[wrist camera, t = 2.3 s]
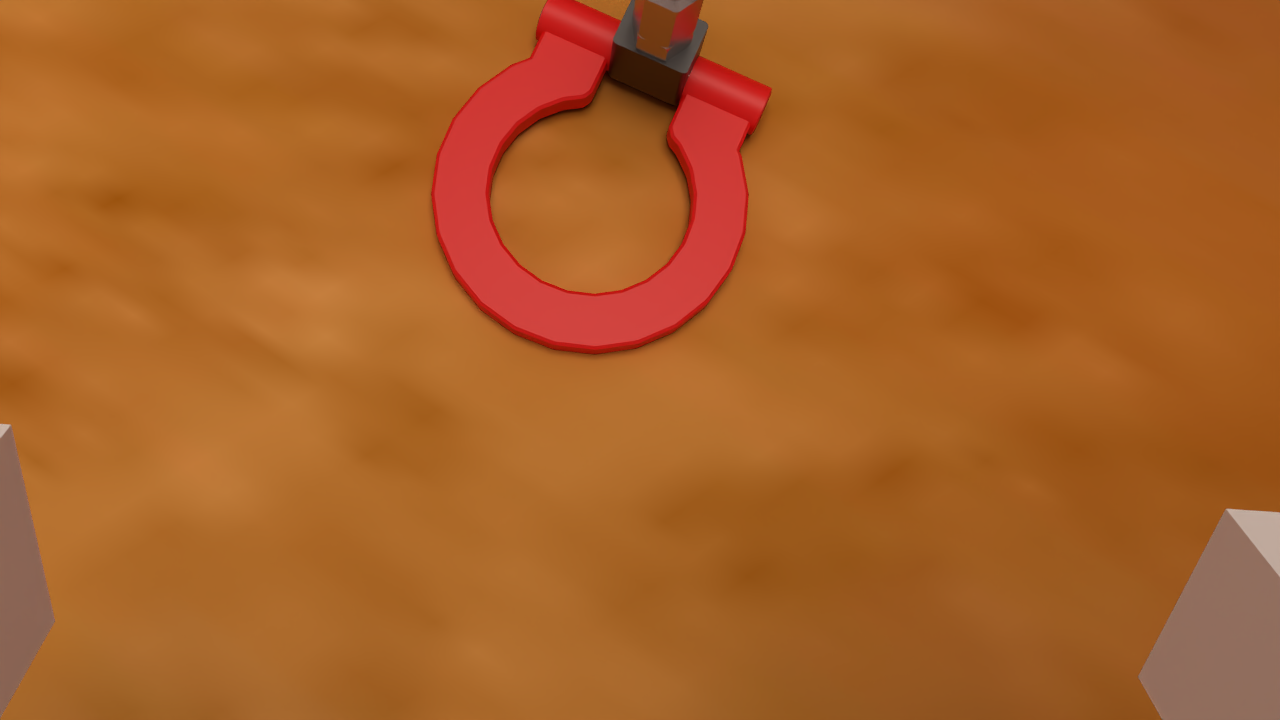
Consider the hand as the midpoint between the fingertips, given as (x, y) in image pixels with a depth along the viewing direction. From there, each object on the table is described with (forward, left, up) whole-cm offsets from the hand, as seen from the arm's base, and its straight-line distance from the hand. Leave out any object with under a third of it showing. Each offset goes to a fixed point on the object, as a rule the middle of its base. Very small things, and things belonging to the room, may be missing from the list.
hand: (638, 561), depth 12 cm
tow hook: (+6, -9, -16) cm, 19 cm away
